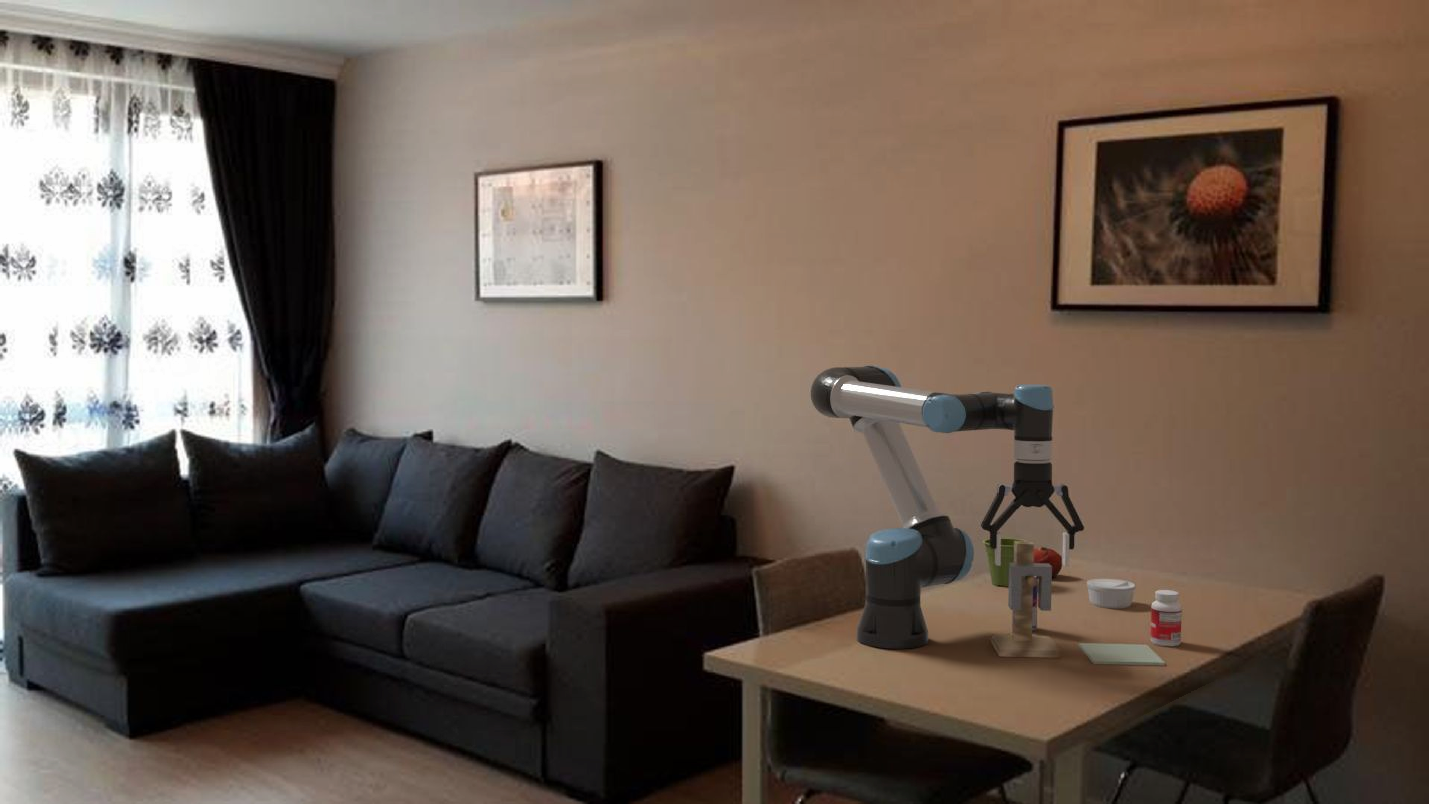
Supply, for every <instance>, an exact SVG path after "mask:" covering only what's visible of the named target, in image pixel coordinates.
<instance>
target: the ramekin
mask: <svg viewBox="0 0 1429 804" xmlns="http://www.w3.org/2000/svg"><path fill="white" fill-rule="evenodd" d="M1086 587H1087V590H1088V598H1089V599H1088V600H1089V602H1090V603H1091V604H1092V605H1093V606H1095V607H1099V608H1104V609H1105V608H1106V609H1126V608H1129V607H1130V606H1131V605H1132V603H1133V598H1134V594H1135V593H1134V592H1135V590H1136V585H1135V583H1133V582H1131V581H1128V580H1123V579H1116V578H1115V579H1114V578H1094V579H1089V580H1087V581H1086Z"/></svg>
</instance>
